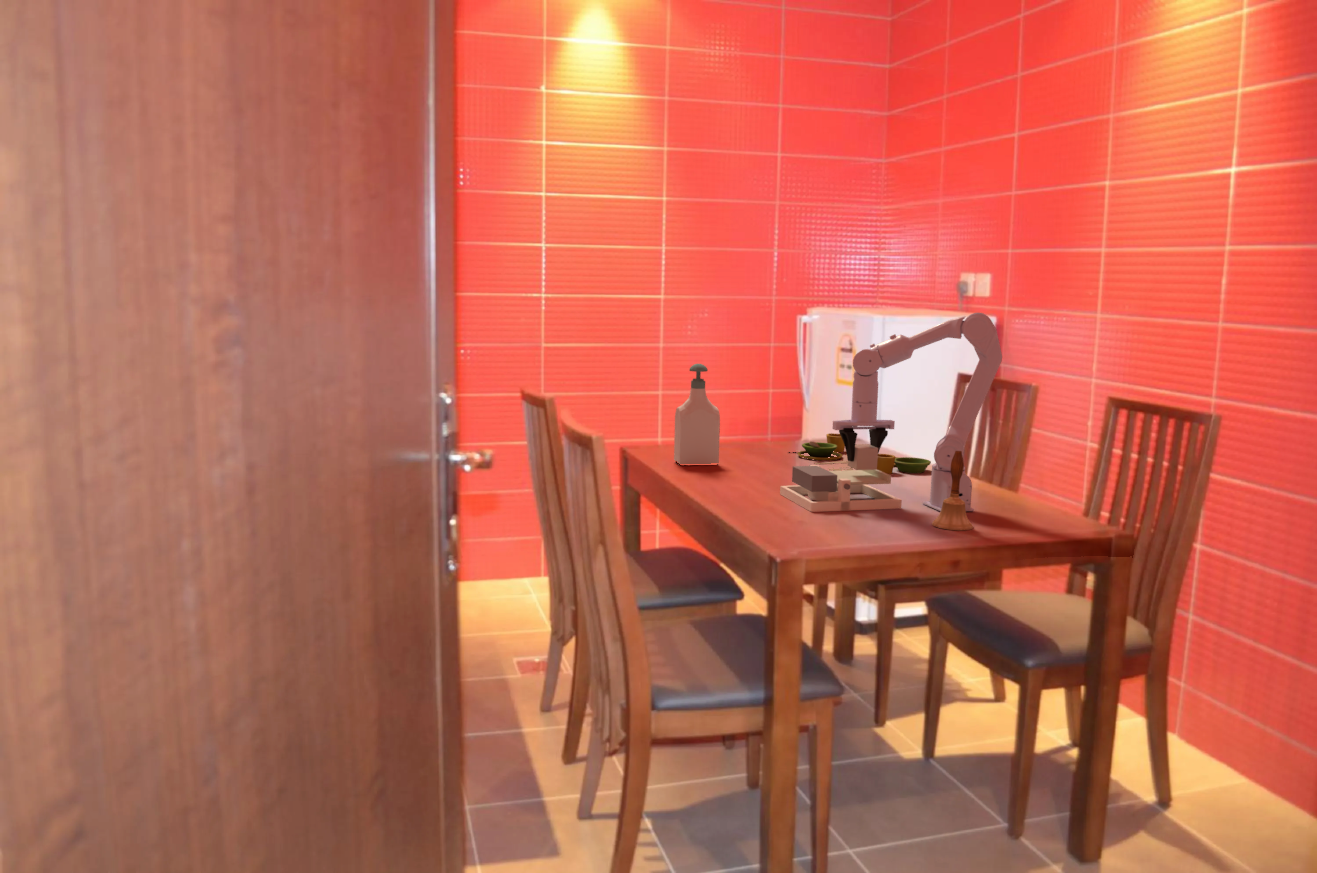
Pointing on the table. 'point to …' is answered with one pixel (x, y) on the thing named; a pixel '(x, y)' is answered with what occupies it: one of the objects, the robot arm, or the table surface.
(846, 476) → the trapdoor
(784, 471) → the table surface
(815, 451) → the tableware set
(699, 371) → the soap bottle
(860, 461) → the beige cube
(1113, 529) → the table surface
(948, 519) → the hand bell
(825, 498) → the frame
